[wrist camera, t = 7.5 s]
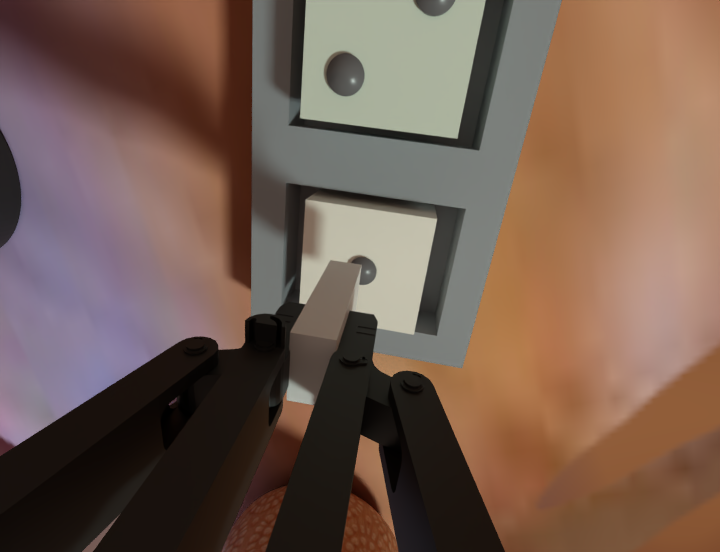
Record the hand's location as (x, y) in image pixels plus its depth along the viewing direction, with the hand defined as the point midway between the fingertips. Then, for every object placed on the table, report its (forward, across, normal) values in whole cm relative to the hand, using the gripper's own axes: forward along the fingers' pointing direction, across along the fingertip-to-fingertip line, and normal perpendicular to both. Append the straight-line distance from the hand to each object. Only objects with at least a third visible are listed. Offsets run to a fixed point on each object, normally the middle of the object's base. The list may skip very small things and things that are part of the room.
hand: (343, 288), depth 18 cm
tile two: (+6, +1, +11) cm, 12 cm away
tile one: (+7, +1, 0) cm, 7 cm away
